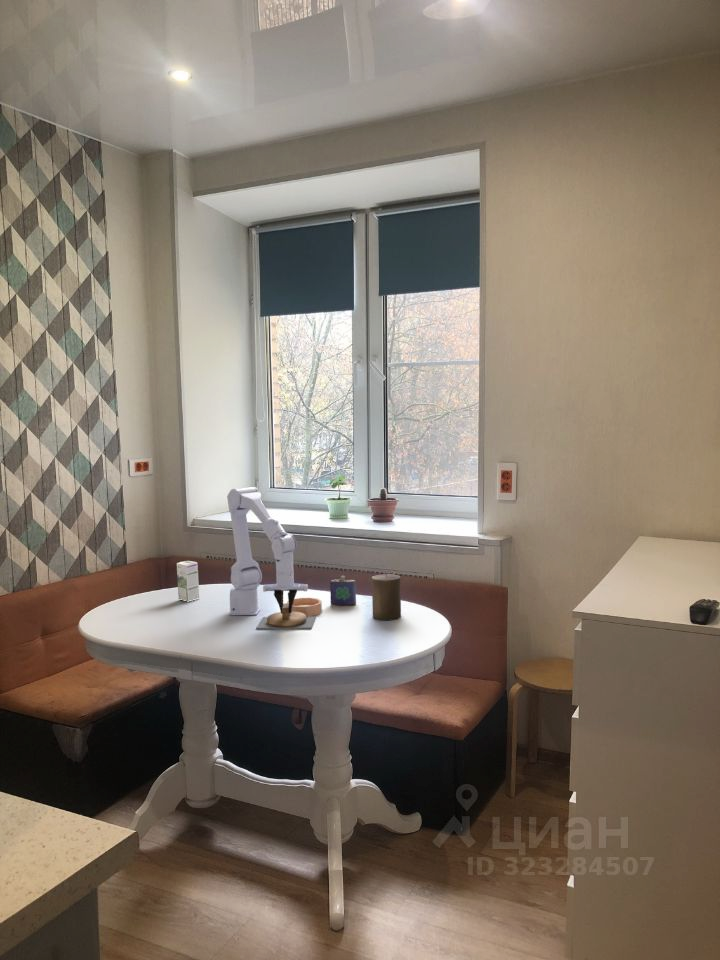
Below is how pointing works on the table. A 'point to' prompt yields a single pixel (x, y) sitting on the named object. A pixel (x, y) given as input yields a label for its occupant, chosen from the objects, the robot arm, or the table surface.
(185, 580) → the syrup box
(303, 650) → the table surface
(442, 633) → the table surface
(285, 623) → the lid
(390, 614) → the pillar candle
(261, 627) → the mat
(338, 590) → the flask
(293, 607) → the bowl
